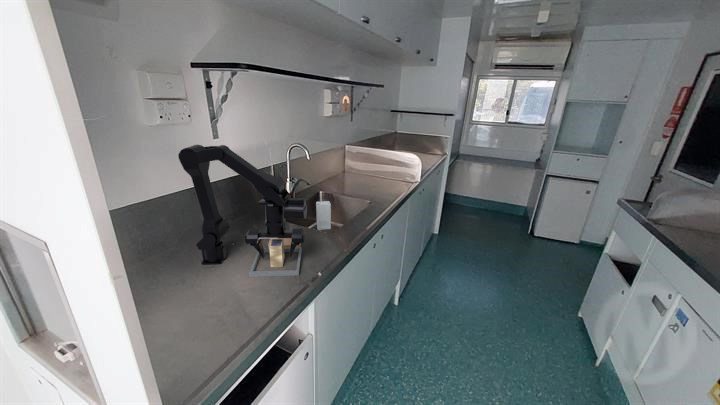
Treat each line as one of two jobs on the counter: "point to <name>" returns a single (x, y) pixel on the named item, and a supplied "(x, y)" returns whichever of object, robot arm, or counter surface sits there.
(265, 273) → the grey picture frame
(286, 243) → the terracotta tile
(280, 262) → the birch label block
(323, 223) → the skincare box
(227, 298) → the counter surface
